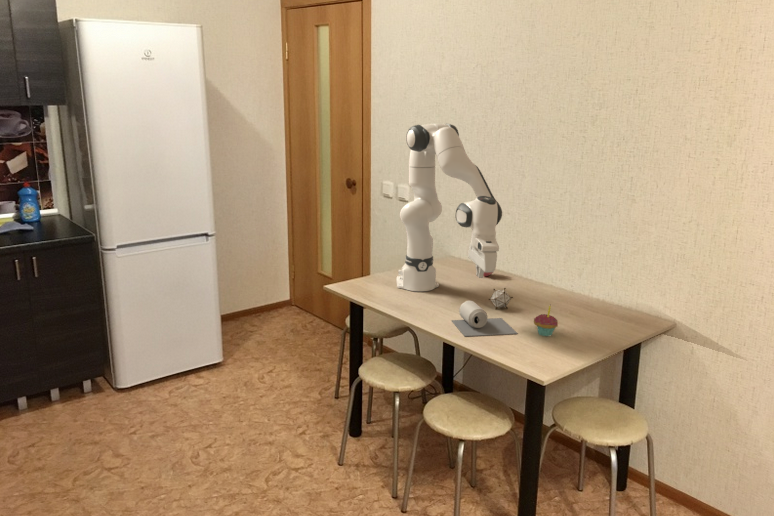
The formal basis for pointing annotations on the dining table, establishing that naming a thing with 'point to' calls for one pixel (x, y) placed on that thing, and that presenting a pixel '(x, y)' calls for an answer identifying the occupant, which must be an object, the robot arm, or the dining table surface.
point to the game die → (500, 298)
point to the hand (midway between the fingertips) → (479, 277)
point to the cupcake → (546, 323)
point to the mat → (485, 328)
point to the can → (473, 314)
